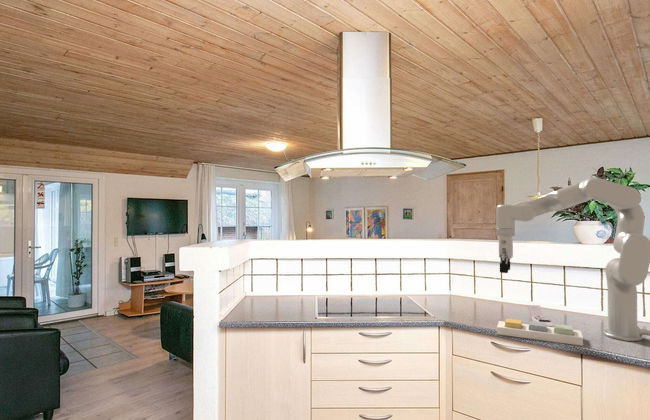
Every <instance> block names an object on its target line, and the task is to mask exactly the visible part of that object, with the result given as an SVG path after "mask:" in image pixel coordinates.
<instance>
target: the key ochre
mask: <svg viewBox="0 0 650 420" xmlns="http://www.w3.org/2000/svg"><path fill="white" fill-rule="evenodd" d="M504 322H505V327H510V328H518V329H521V328H522V324H523V320H522V319H514V318H507V317H506V318H505V321H504Z"/></svg>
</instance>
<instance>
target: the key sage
mask: <svg viewBox="0 0 650 420" xmlns="http://www.w3.org/2000/svg"><path fill="white" fill-rule="evenodd" d="M554 328H555V333H558V334H566V335H573V330H574V328H573V326H572V325H568V324H567V325H566V324H558V323H554Z"/></svg>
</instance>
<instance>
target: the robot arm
mask: <svg viewBox="0 0 650 420" xmlns="http://www.w3.org/2000/svg"><path fill="white" fill-rule="evenodd" d="M591 200H596V201H599V202H602V203H605V204H607V205H608V206H609V207H610V208H612V209H613V210H614V211H615V213H616V215H617V225H616V230H615V235H614V238H613V243H612V245H613V248H614V250H615V251H616V252H617V253H618V254H620V256H619V257H615V258H613V259H611V260H610V261H608V262H607V263H606V265H605V279H606V286H607V288H606V289H607V328H606V329H604V330H603V335H604V336H606V337H609V338H612V339H615V340H619V341H628V342H639V341H642V340H643V336H650V330H648V329H645V328H640V327H639V326H638V291H637V290H638V289H637V286H639V285H641V284H642V283H644V282H645V280H646V279H647V276H648V273H649V269H650V239H649V237H647V236H646V235H644V229H645V217H646V216H645V213H644V209H643V208H642V206H641V201H642V196H641V193H640V192H639V191H638V190H637V189H636V188H634V187H631V186H628V185H623V184H621V183H617V182H614V181H611V180H607V179H604V178H600V177H592V178H587V179H584V180H581V181H578V182H575V183H573V184H570V185H567V186H565V187H561V188H560V189H556V190H554V191H552V192H549V193H547V194H544V195H542V196H540V197H537V198H534V199H532V200H529V201H526V202H524V203H521V204H515V205H513V204H497V206H496V211H495V213H496V216H495V218H496V219H495V221H496V222H495V226H496V227H495V228H496V229H495V235H496V236H498V258H500V259H499V273H501V274H503V273H504V274H508V273H509V271H510V270H511V259H512V258H513V257H514V253H513V252H514V251H513V250H514V249H513V248H514V247H513V245H514V243H513V240H514V239H513V237H515V236H516V221H518V222H519V221H520V222H525V223H526V222H530V221H533V220H534V219H535V218H536V217H539V216H542V215H545V214H548V213H553V212H558V211H562V210H567V209H568V208H571V207H574V206H578V205H580V204H583V203H586V202H588V201H591Z"/></svg>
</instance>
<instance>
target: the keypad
mask: <svg viewBox="0 0 650 420" xmlns="http://www.w3.org/2000/svg"><path fill="white" fill-rule="evenodd" d="M529 324H530V323H529ZM529 324H526V323H522V328H521V329H518V328H510V327H505V321H503V320H498V322H497V326H496V335H499V336H507V337H514V338H515V337H516V338H522V339H528V340H529V339H530V340H537V341H543V342H544V341H545V342H551V343H558V344H560V343H561V344H569V345H575V346H584V337H583V333H582V331H581V330H580V329H573V335H566V334H558V333H555V326H554V327H546V330H547V332H542V331H534V330H530V329H529Z"/></svg>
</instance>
